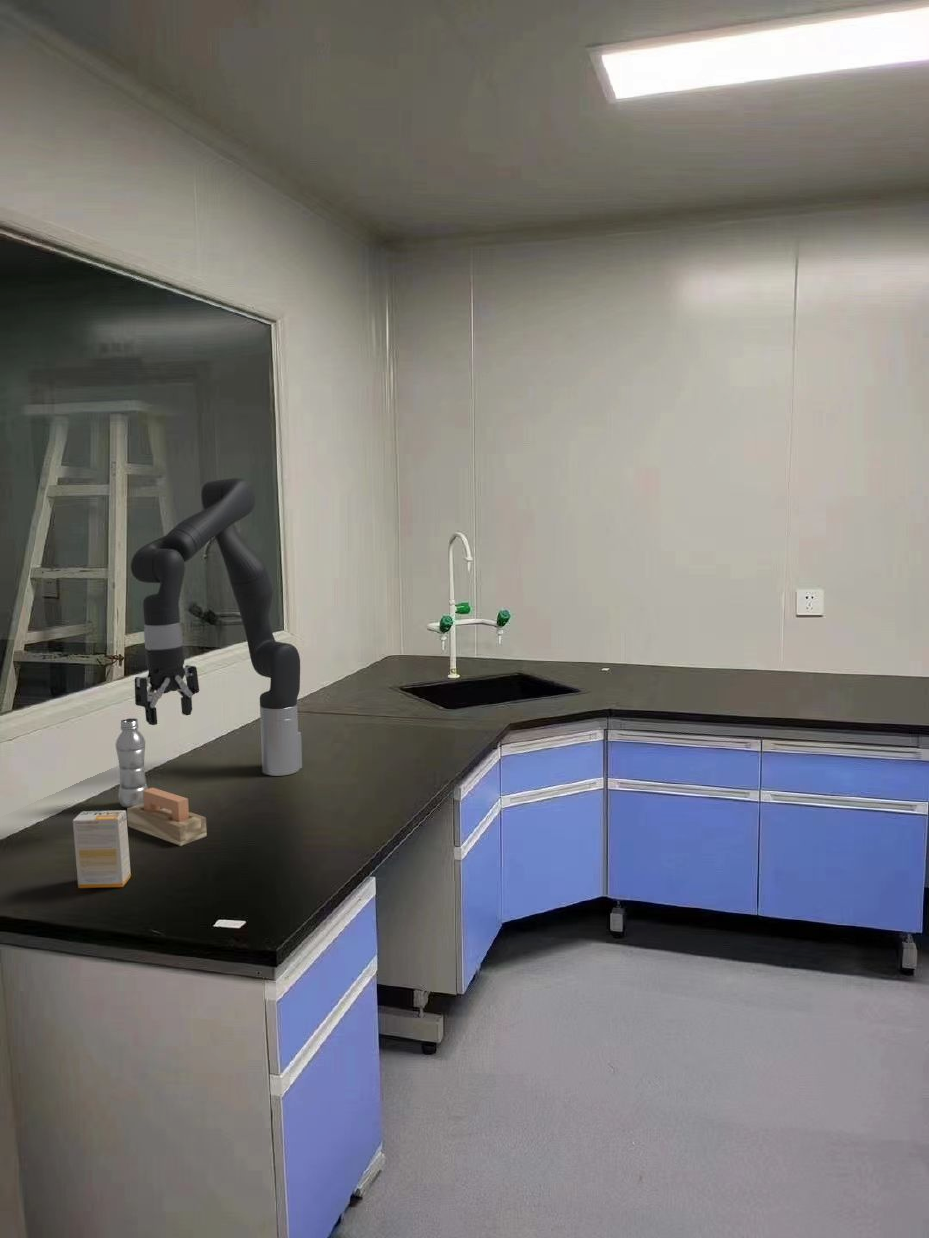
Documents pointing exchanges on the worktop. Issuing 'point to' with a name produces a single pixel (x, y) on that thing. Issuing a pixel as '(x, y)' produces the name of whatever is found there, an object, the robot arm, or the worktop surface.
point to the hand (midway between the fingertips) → (169, 719)
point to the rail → (167, 825)
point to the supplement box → (101, 849)
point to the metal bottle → (131, 763)
